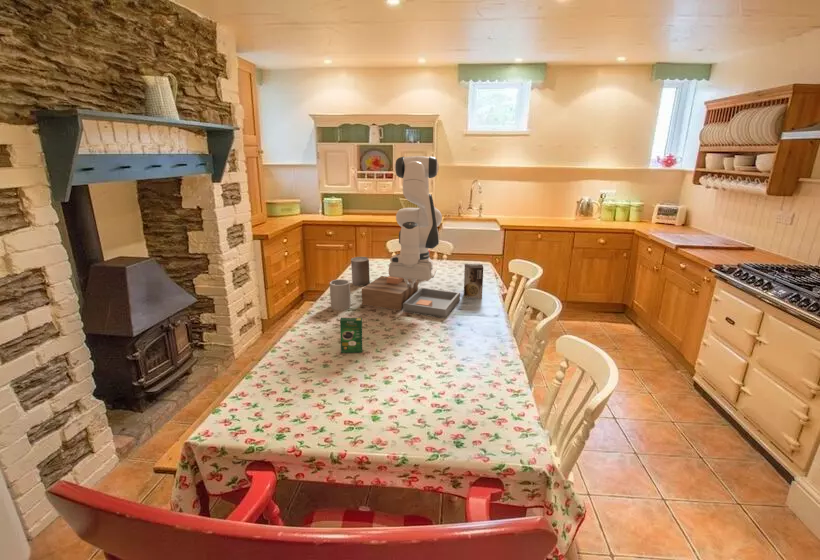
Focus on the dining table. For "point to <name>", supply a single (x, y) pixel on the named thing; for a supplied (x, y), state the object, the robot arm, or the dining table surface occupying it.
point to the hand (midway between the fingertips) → (409, 287)
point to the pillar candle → (360, 271)
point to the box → (440, 302)
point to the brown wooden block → (387, 293)
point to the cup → (340, 294)
